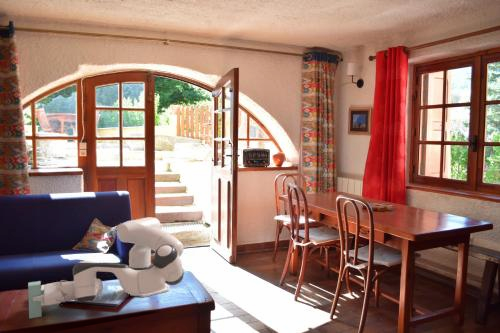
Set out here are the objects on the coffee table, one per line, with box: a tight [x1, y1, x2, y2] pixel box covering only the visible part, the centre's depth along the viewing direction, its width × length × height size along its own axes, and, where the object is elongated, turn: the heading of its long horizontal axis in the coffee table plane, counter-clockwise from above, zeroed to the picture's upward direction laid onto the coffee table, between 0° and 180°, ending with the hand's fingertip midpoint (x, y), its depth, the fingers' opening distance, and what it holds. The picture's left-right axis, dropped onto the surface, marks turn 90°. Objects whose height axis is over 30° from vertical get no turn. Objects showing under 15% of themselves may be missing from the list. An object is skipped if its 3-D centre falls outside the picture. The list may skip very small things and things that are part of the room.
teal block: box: [27, 280, 42, 319], centre depth 192 cm, size 5×5×15 cm
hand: (32, 296), depth 192 cm, fingers closed on teal block, 5 cm apart
